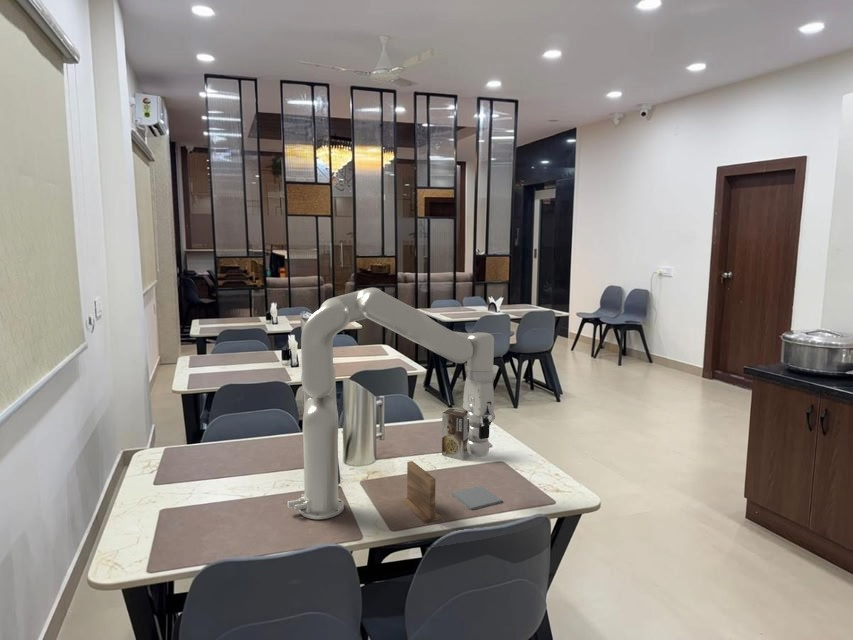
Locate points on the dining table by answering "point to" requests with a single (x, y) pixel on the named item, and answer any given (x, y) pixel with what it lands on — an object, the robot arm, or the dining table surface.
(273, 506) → the dining table surface
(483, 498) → the mat
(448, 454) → the coffee box
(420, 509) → the wooden stand
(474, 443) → the plastic bottle
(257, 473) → the dining table surface
